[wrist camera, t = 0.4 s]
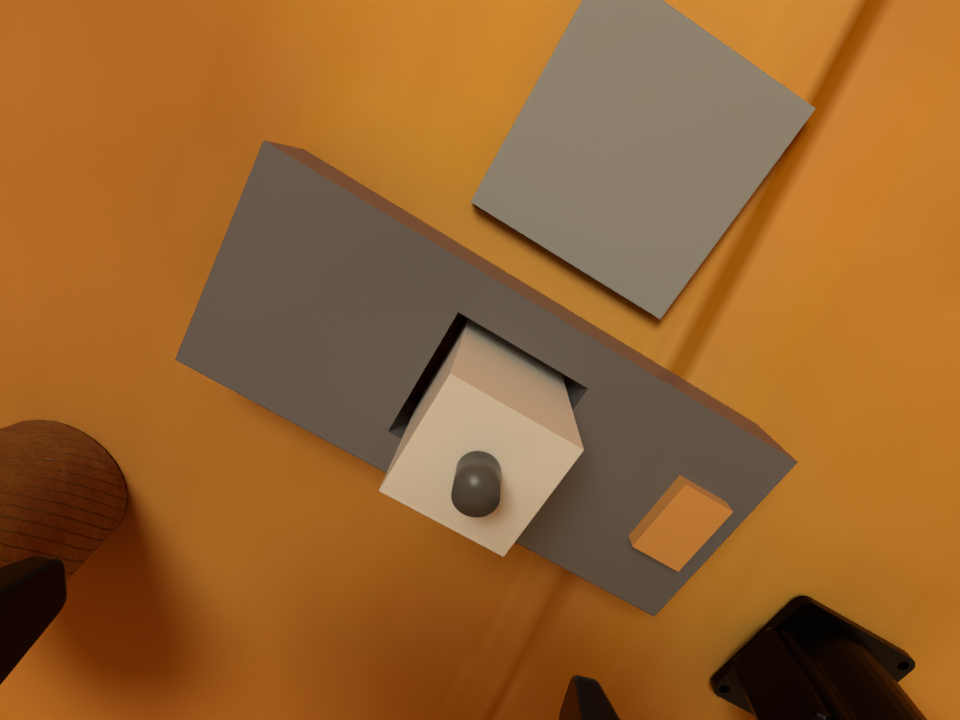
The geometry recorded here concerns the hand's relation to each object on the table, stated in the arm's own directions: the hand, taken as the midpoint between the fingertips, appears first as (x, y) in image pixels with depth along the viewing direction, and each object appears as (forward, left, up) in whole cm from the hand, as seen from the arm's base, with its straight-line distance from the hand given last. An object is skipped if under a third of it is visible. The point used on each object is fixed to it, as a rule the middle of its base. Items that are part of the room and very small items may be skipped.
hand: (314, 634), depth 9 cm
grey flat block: (-2, -1, -12) cm, 12 cm away
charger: (-2, -2, -12) cm, 12 cm away
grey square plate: (-2, -11, -12) cm, 16 cm away
